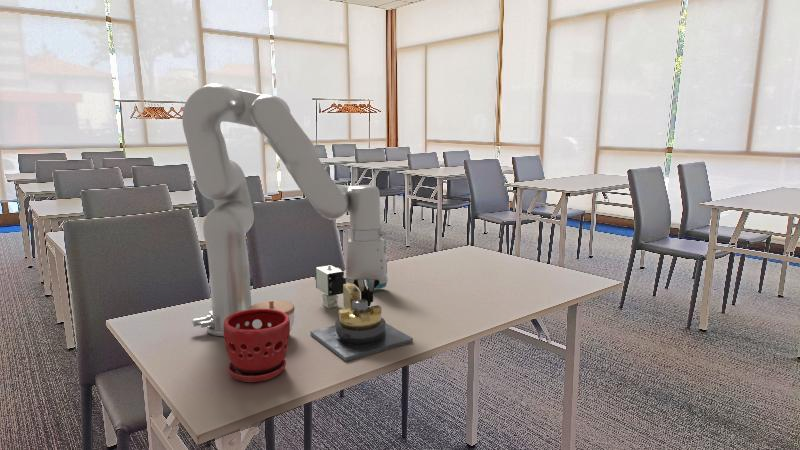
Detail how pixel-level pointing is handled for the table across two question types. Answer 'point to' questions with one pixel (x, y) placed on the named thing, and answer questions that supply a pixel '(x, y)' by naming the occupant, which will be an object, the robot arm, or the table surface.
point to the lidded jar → (275, 305)
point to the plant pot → (256, 344)
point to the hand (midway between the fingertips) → (367, 304)
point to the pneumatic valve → (329, 284)
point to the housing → (360, 340)
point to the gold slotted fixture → (358, 311)
